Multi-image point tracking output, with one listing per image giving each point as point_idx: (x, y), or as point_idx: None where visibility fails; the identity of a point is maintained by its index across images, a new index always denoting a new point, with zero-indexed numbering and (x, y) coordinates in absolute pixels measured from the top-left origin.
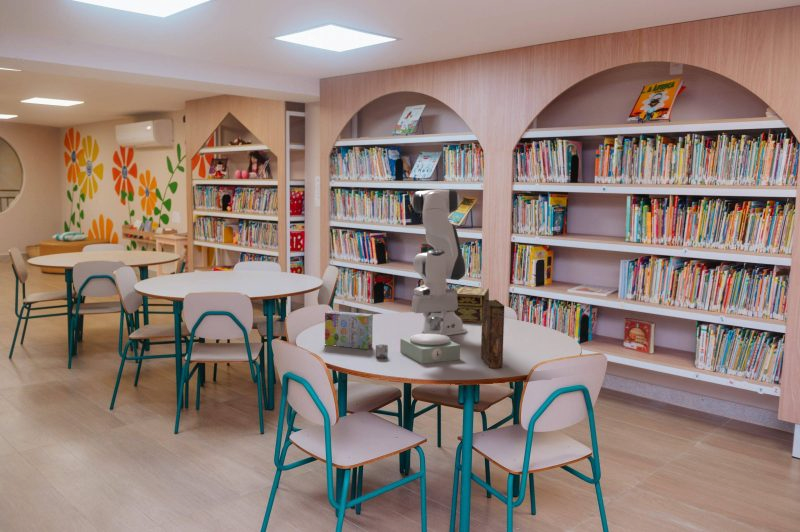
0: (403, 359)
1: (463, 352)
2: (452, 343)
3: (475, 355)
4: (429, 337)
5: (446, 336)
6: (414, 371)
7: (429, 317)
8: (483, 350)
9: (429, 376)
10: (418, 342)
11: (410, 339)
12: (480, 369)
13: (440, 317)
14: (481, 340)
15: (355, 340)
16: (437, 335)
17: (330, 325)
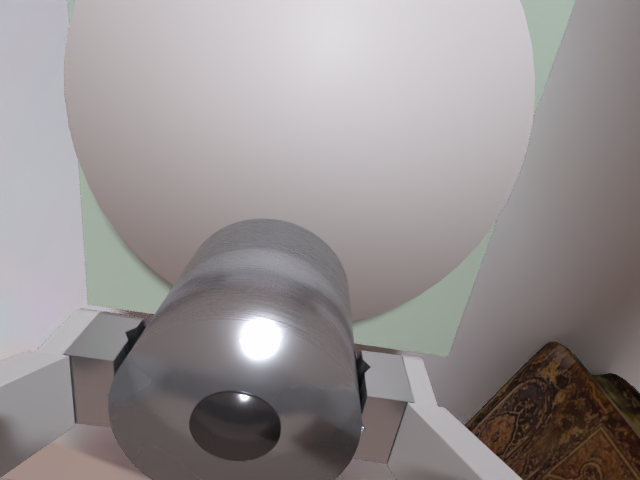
0: (63, 92)
1: (588, 176)
2: (435, 290)
3: (580, 278)
4: (315, 101)
5: (511, 166)
6: (30, 344)
7: (130, 374)
8: (537, 430)
9: (72, 433)
10: (100, 203)
11: (70, 41)
12: (368, 466)
13: (342, 462)
14: (625, 427)
15: None
16: (466, 67)
17: None
